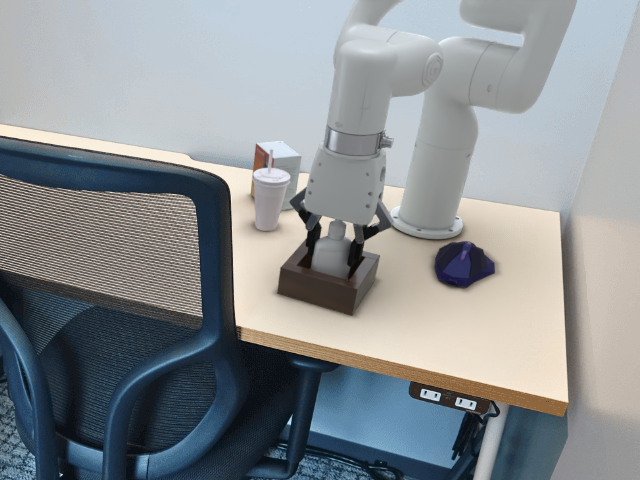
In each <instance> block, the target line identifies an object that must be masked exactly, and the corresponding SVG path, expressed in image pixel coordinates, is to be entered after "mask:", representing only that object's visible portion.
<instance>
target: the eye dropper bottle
mask: <svg viewBox="0 0 640 480" xmlns="http://www.w3.org/2000/svg"><path fill="white" fill-rule="evenodd" d="M347 225H348V224H347V222H345V221H341V220H337V219H333V220H331V221H329V224H328V229H327V235H325V236H323V237H320V239H318V240H317V241H316V242H315V246H314V251H313V257H312V263H311V269H310V270H314V271H317V272H321V273H324V274H328V275H332V276H335V277H339V278H342V279H346V280H349V279H348V276H349V271H350V267H349V266H348V265H347V262H348V256H349V251H350V246H351V242H352V241H353V240H352V239H350V238H349V237H347V236H345V235H346V231H347V227H348V226H347Z"/></svg>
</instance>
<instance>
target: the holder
mask: <svg viewBox="0 0 640 480" xmlns="http://www.w3.org/2000/svg"><path fill="white" fill-rule="evenodd" d="M305 245H306V238H305V239H304V240H303V241H302V243H301V244H300V245H299V246H298V247H297V248H296V249H295V251H294V252H293V253H292V254H291V255H290V256H289V257H288V258H287V260H286V261H285V262H284V263H282V265H281V266H280V269H279V275H278V276H279V277H278V282H277V283H278V284H277V291H276V293H277V294H278V295H282V296H285V297H288V298H292V299H296V300H298V301H301V302H305V303H308V304H311V305H315V306H318V307H321V308H325V309H329V310H331V311H335V312H338V313H342V314H346V315H348V316H352V317H353V315H354V314H355V312H356V311H357V309H358V307H359V306H360V304H361V302H362V301H363V299H364V298H365V296H366V295H367V293H368V291H369V290H370V288H371V287H372V285H373V283H374V282H375V280H376V276H377V271H378V268H379V262H380V258H381V255H380V254H378V253H375V252H370V251H366V250H363V253H362V257H361V259H360V260H359V261H358V260H356V262H355V263H354V265H353V266H352V267H350V271H349V276H348V280H346V279H342V278H339V277H335V276H332V275H328V274H324V273H321V272H317V271H314V270H311V263H312V257H313V255H311V256H309V255H307V252H308V247H306V246H305Z"/></svg>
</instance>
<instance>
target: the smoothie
mask: <svg viewBox="0 0 640 480" xmlns="http://www.w3.org/2000/svg"><path fill="white" fill-rule="evenodd" d="M272 156H273V149H270V153H269V162H268V168H262V169H258V170H256V171H255V172H254V173H253V172H252V175H253V178H252V177H251V181H252V180H253V182H254V195H255V198H254V225H255V228H256V229H257V230H260V231H263V232H272V231H274V230H276V229H277V226H278V222H279V218H280V215H281V211H282V210H281V207H282V204H283V200H284V196H285V192H286V188H287V185H288V184H289V183H290V175H289V174H288V173H287V172H286V171H283V170H280V169H276V168H271V165H272Z"/></svg>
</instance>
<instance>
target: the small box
mask: <svg viewBox="0 0 640 480" xmlns="http://www.w3.org/2000/svg"><path fill="white" fill-rule="evenodd" d="M270 149H273V156H272V165H271V168H276V169H280V170H283V171H286V172H287V173H288V174H289V175H290V183H289V184H288V185H287V188H286V192H285V196H284V200H283V204H282V207H281V211H286V210H292V209H294V208H293V207H292V206H291V204H290V202H289V201H290V199H292V198H293V197H294V196H295V195H296V194H297V191H298V190H297V189H298V185H299V184H298V183H299V178H300V169H301V163H302V158H303V157H302V155H301V154H300V153H299V152H297V151H295V150H294V149H293V148H292V147H291V146H289V145H288V144H286V142H285V141H284V140H274V141H264V142H256V143H255V147H254V156H253V157H254V158H253V166H252V167H253V168H252V176H251V184H250V185H251V186H250V196H251V197H253V198H254V199H255V195H254V182H253V180H252V178H253V173H254V172H255V171H256V170H258V169H262V168H268V162H269V153H270Z"/></svg>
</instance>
